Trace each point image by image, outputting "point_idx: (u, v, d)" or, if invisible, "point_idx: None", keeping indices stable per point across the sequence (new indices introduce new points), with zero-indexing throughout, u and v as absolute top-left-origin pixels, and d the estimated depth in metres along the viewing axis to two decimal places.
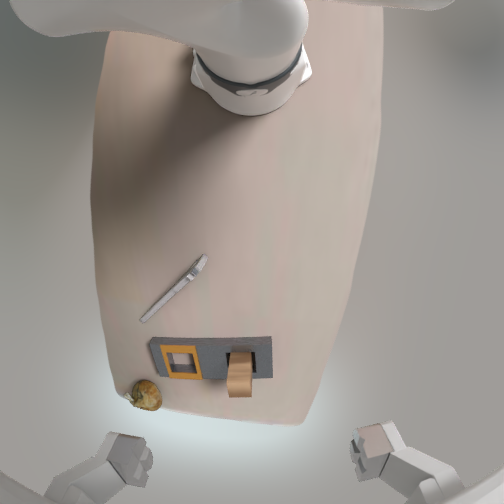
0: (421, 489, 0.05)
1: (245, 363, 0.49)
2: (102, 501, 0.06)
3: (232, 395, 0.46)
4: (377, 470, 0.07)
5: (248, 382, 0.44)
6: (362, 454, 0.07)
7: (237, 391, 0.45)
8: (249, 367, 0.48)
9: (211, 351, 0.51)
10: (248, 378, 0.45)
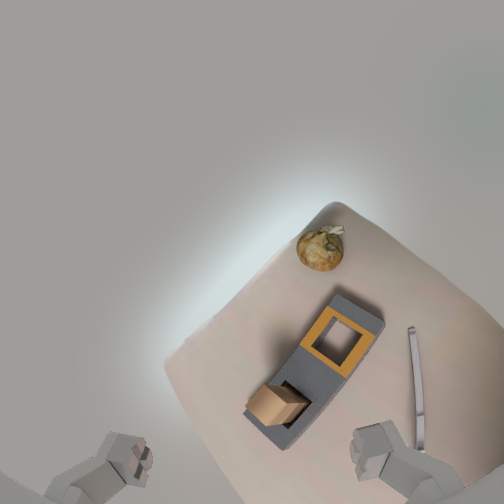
0: (421, 489, 0.05)
1: (285, 419, 0.34)
2: (102, 501, 0.06)
3: (263, 390, 0.32)
4: (377, 470, 0.07)
5: (266, 424, 0.30)
6: (362, 454, 0.07)
7: (264, 401, 0.32)
8: (279, 423, 0.33)
9: (325, 389, 0.36)
10: (270, 424, 0.31)
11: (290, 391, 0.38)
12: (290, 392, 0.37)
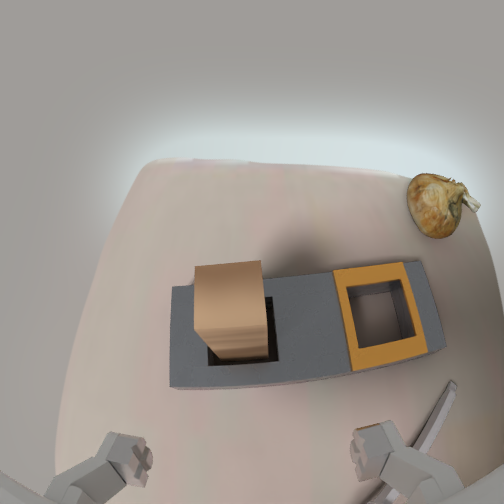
0: (421, 489, 0.05)
1: (224, 349, 0.19)
2: (102, 501, 0.06)
3: (250, 269, 0.17)
4: (377, 470, 0.07)
5: (199, 328, 0.15)
6: (362, 454, 0.07)
7: (233, 287, 0.16)
8: (210, 345, 0.18)
9: (312, 359, 0.21)
10: (202, 334, 0.16)
11: None
12: None
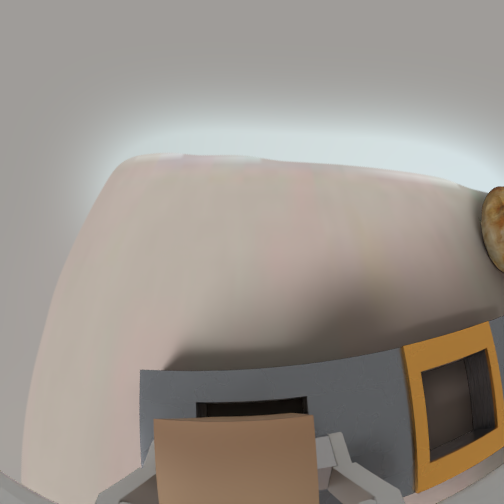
0: None
1: None
2: None
3: (287, 438, 0.06)
4: (323, 482, 0.07)
5: None
6: None
7: (245, 481, 0.05)
8: None
9: None
10: None
11: None
12: None
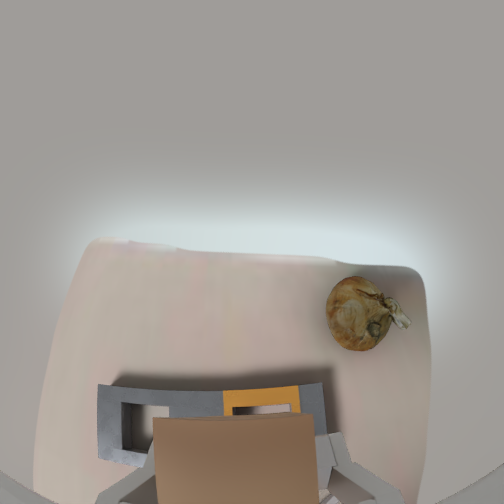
0: None
1: None
2: None
3: (287, 437, 0.06)
4: (323, 482, 0.07)
5: None
6: None
7: (244, 480, 0.05)
8: None
9: None
10: None
11: None
12: None
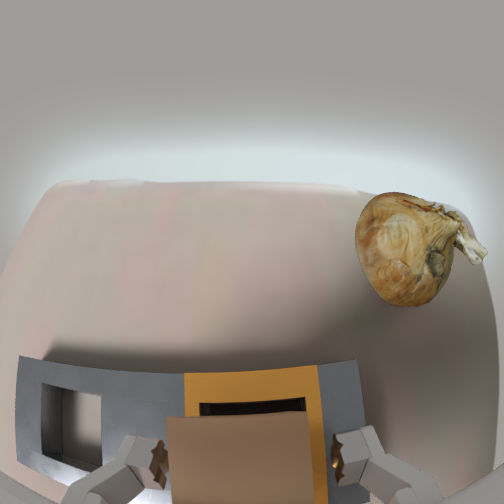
0: (397, 498, 0.05)
1: None
2: None
3: (285, 432, 0.06)
4: (356, 476, 0.07)
5: None
6: (340, 459, 0.07)
7: (248, 470, 0.06)
8: None
9: None
10: None
11: None
12: None
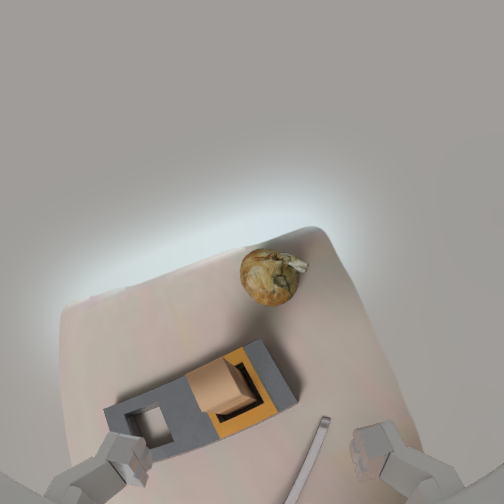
0: (421, 489, 0.05)
1: (225, 410, 0.26)
2: (102, 501, 0.06)
3: (218, 364, 0.24)
4: (377, 470, 0.07)
5: (204, 409, 0.22)
6: (362, 454, 0.07)
7: (212, 379, 0.24)
8: (216, 412, 0.25)
9: (193, 436, 0.27)
10: (207, 411, 0.23)
11: (243, 378, 0.30)
12: (243, 379, 0.29)
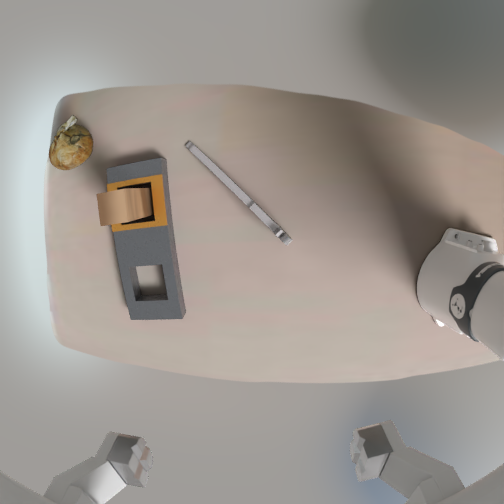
0: (421, 489, 0.05)
1: (142, 210, 0.36)
2: (102, 501, 0.06)
3: (100, 198, 0.30)
4: (377, 470, 0.07)
5: (127, 219, 0.31)
6: (362, 454, 0.07)
7: (109, 205, 0.31)
8: (140, 217, 0.35)
9: (160, 246, 0.39)
10: (131, 218, 0.32)
11: None
12: None
